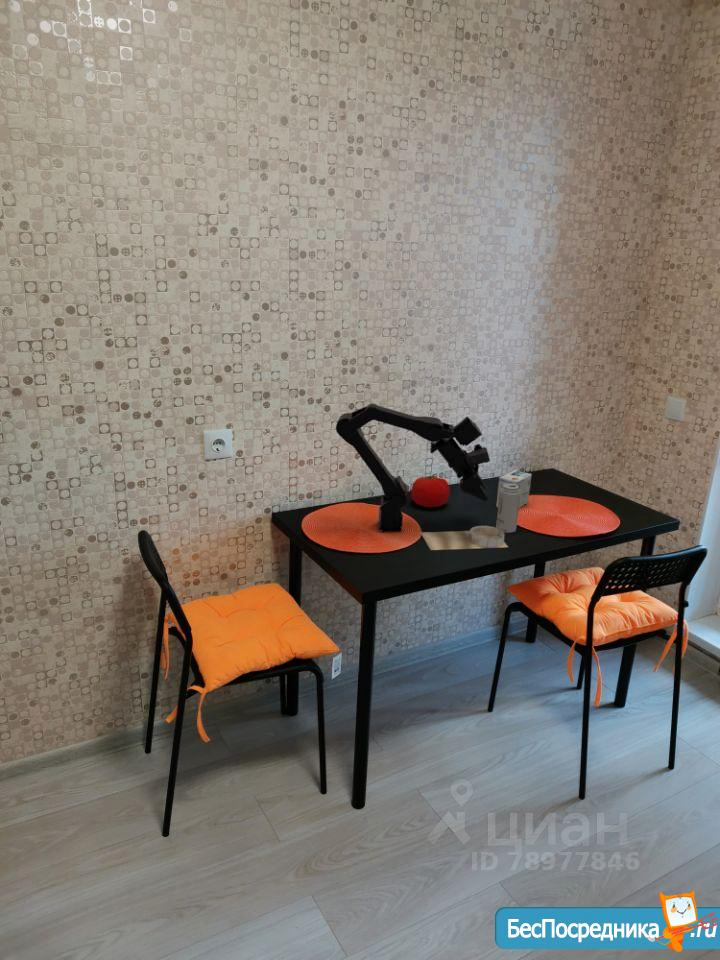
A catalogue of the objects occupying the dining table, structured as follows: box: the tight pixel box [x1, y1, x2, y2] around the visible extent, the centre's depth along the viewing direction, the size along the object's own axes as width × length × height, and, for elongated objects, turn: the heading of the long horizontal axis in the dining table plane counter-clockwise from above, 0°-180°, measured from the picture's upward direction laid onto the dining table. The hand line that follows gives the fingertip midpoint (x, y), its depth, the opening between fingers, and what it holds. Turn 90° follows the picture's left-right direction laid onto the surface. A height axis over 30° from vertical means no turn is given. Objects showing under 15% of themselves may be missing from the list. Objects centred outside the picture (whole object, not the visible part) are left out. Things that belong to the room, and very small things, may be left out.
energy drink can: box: [495, 483, 521, 534], centre depth 221 cm, size 6×6×15 cm
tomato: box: [410, 474, 451, 508], centre depth 241 cm, size 11×13×10 cm
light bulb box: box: [495, 469, 533, 508], centre depth 243 cm, size 11×7×11 cm, turn 141°
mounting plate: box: [420, 530, 509, 551], centre depth 215 cm, size 23×12×1 cm, turn 100°
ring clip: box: [469, 525, 505, 549], centre depth 214 cm, size 10×10×2 cm
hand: (485, 494), depth 218 cm, fingers open, 9 cm apart
